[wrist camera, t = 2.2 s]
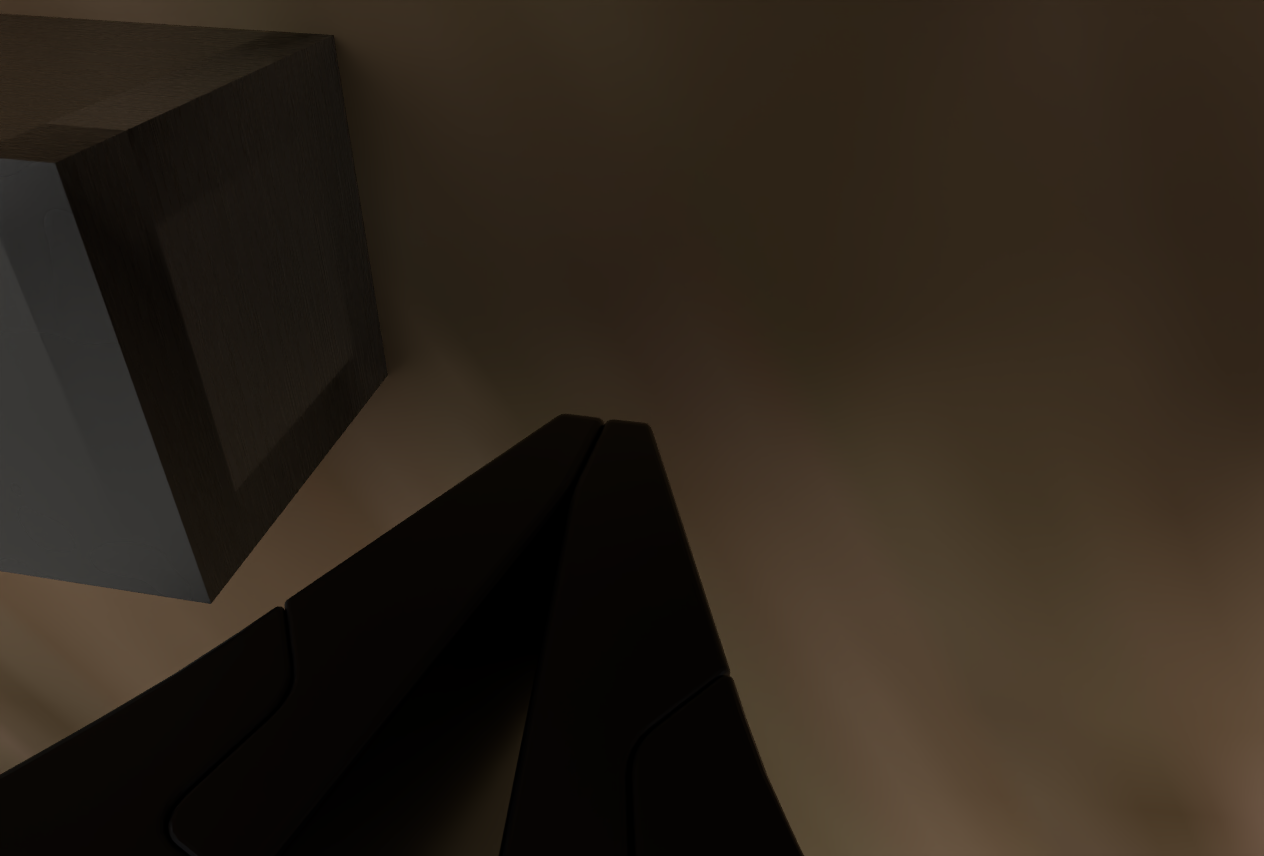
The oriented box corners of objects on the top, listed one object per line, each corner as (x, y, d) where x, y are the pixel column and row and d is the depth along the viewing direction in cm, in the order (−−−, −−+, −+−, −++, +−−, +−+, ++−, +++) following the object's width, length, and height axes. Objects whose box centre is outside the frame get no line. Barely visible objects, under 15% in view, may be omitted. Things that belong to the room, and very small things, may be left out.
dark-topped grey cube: (387, 374, 14) (210, 604, 10) (46, 334, 15) (-247, 532, 11) (333, 34, 11) (54, 162, 7) (-87, 8, 12) (-553, 109, 8)
